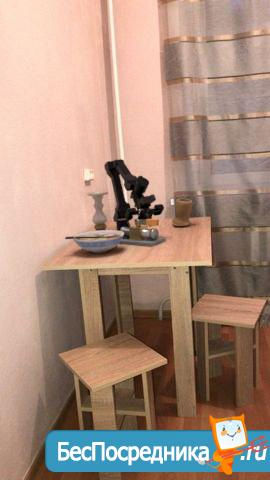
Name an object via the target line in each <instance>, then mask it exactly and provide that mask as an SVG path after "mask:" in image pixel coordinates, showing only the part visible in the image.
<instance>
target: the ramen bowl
mask: <svg viewBox="0 0 270 480" xmlns="http://www.w3.org/2000/svg"><path fill="white" fill-rule="evenodd" d="M123 235H124V232H122V231H117V229H115V230H114V229H109V230H108V229H106V230H101V231H96V230H91V231H85V232H82V233H78V234H75V235H73V236H65V237H64V239H65V240H73V241H74V243H75V244H76V245H77V246H78V247H80V249H82V250H84V251H86V252H91V253H92V254H102V253H106V252H108V251H110V250H112V249H114V248H115V247H117V246H118V245H120V244H119V243H120V241H121V240H122V238H123Z"/></svg>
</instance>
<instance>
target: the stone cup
mask: <svg viewBox="0 0 270 480" xmlns="http://www.w3.org/2000/svg"><path fill="white" fill-rule="evenodd" d="M193 205H194V202H193V200H192V199H189V198H184V197H183V198H177V199H176V200H175V213H176V214H175V215H176V217H174V218H172V220H171V223H172V225H173V226H175V227H188V226H189V225H191V221H190V216H191V213H192V211H193Z"/></svg>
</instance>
